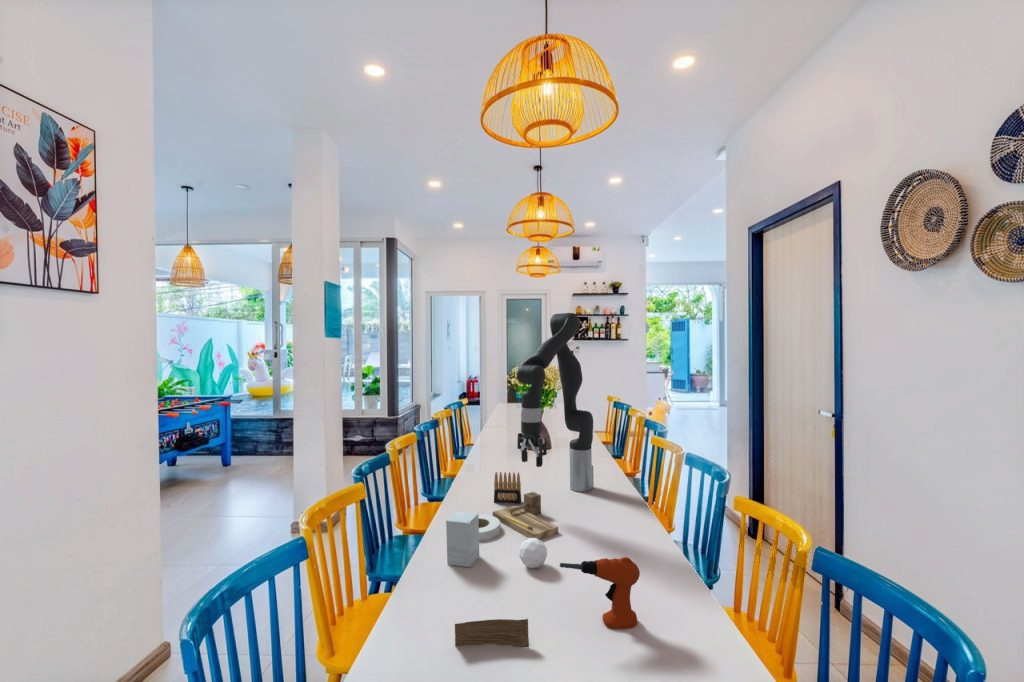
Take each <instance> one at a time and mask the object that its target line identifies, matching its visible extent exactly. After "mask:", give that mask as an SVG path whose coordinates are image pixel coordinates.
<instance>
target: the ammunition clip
mask: <svg viewBox="0 0 1024 682" xmlns="http://www.w3.org/2000/svg"><path fill="white" fill-rule="evenodd" d="M507 476H508V477H507ZM521 483H522V482H521V474H520V473H519V472H517V474H516V473H515V472H512V475H511V471H509V472H508V475H507V472H506V471H504V474H503V473H502V472H501V471H500V472H499V475H498V472H497V471H495V473H494V482H493V485H494V486H493V487H494V489H493V490H494V491H493V504H519V505H522V504H521V503H522V491H521V490H522V487H521V486H522V485H521Z"/></svg>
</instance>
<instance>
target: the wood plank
mask: <svg viewBox="0 0 1024 682" xmlns="http://www.w3.org/2000/svg"><path fill="white" fill-rule="evenodd" d="M454 636H455V637H454V646H455V647H460V646H462V647H463V646H483V645H496V646H510V647H511V646H512V647H515V648H522V649H524V648H526V649H527V648H530V641H529V619H528V618H525V619H499V618H498V619H496V618H495V619H485V620H475V621H472V620H471V621H466V622H460V623H454Z"/></svg>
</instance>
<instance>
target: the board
mask: <svg viewBox="0 0 1024 682" xmlns="http://www.w3.org/2000/svg"><path fill="white" fill-rule="evenodd" d="M513 507H516V505H512V506H508V507H506V508H502V509H498V510H494V511H492V516H494V517H496V518H498V519H499V521H500V524H504V525H505V526H506V527H509V528H510V529H512V530H514V531H516V532H518V533H519V534H522V535H523V536H524V537H526V538H527V539H529V538H537V539H539V540H542V539H544V538H548V537H551V536H554V535H556V534H559V526H557V525H555V524H554V523H551V522H550V521H547V520H545V519H542V518H541V517H539V516H538V515H537V516H535V515H533V514H531V513H529V512H527V511H525V510H524V509H521V510H517V511H514V512H512V514H511V512H509V508H513ZM505 515H507V516H509V517H511V518H513V519H516V520H518V521H520V522H522V523H525V524H527V525H529V526H531V527H533V530H529V529H527V528H525V527H523V526H520V525H518V524H516V523H514V522H512V521H509V520H507V519H505V518H504V516H505Z"/></svg>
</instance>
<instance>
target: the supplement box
mask: <svg viewBox="0 0 1024 682" xmlns="http://www.w3.org/2000/svg"><path fill="white" fill-rule="evenodd" d="M478 514H479V513H474V512H463V511H456V512H454V513H453V514H452V515H451V516H450V517H449V518H447V519H446V521H445V523H446V525H445V527H446V562H447V565H453V566H457V567H458V566H459V567H464V568H472V566H473V564H474V563H475V562H476V561H477V560H478V559H479V558H480V540H479V528H480V527H479V518H478Z"/></svg>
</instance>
